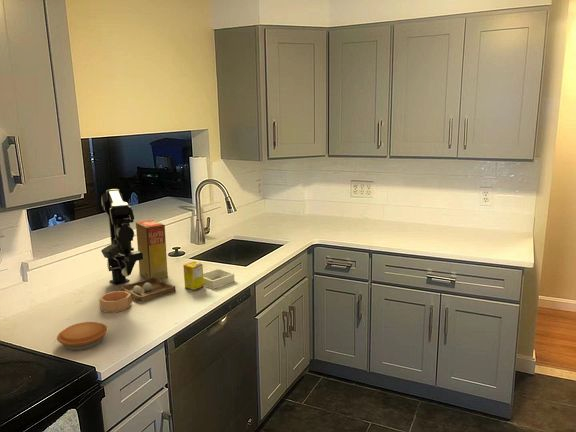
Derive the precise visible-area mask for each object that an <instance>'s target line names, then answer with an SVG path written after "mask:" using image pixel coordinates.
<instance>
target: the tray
mask: <svg viewBox="0 0 576 432" xmlns="http://www.w3.org/2000/svg"><path fill="white" fill-rule="evenodd" d="M145 283H150V284H151V285H152V288H151V290H150V291H145V290H144V289H143V285H144V284H145ZM135 286H140V287H141V289H142V291H141V293H140V294H135V293H133V287H135ZM119 291H126V292H128V293H130V294H131V300H134V301H135V302H138V303H140V304H142V303H146V302H149V301H152V300H155V299H157V298H161V297H164V296H167V295H171V294H173V293H176V286H175V285H173V284H170V283H168V282H166V281H163V280H161V279H157V278H154V277H153V278H149V279H146V278H145V279H142V280H140V281H135V282H133V283H129V284H126V285H123V286H120V287H119Z"/></svg>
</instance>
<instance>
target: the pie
mask: <svg viewBox="0 0 576 432" xmlns="http://www.w3.org/2000/svg"><path fill="white" fill-rule="evenodd" d="M107 332H108V328H107V326H106V324H104V323H100V322H96V321H95V322H94V321H84V322H78V323H75V324H72V325H69V326H67V327H66V328H65V329H63V330H61V331H60V332H59V333H58V335H57V336H56V340H57V342H58V343H60V344H61V345H63V346H64V347H65V349H67V350H70V351H84V350H87V349H92V348H94V347H96V346H98V345H99V344H100V343H101V342H102V340H103V339H104V336H105V335H106V334H107Z"/></svg>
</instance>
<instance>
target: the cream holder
mask: <svg viewBox="0 0 576 432" xmlns="http://www.w3.org/2000/svg"><path fill="white" fill-rule="evenodd" d="M218 277H219V278H218ZM203 281H204V287H206V288H210V289H214V290H215V289H217V288H220V287H222V286H225V285H228V284H231V283H234V281H236V280H235V273H234V272H231V271H228V270H225V269H222V268H215V269H212V270H209V271H208V270H207V271H205V272H203Z"/></svg>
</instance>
